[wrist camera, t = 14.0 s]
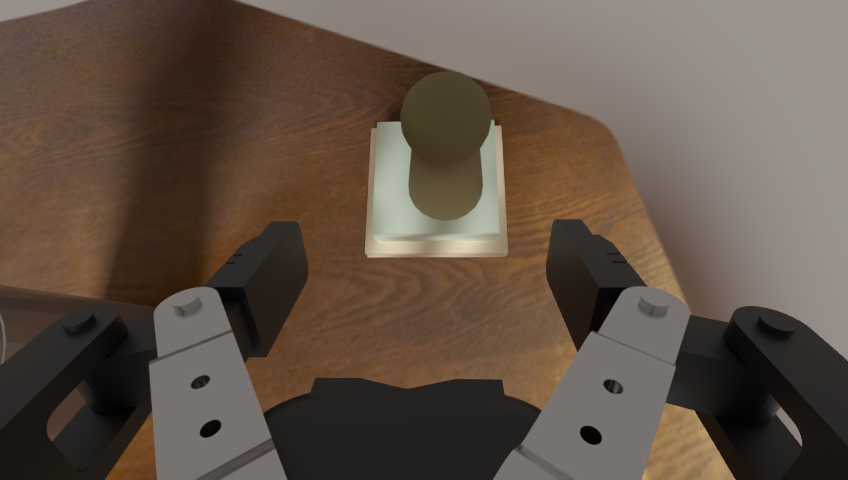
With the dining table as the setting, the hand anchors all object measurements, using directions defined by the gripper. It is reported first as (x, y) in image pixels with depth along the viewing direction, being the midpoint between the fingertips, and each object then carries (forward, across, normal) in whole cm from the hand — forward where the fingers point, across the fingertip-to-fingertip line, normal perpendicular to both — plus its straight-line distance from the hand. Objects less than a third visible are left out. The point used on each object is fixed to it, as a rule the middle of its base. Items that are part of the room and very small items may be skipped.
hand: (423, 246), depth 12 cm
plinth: (+22, 0, +7) cm, 23 cm away
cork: (+18, -1, +5) cm, 19 cm away
